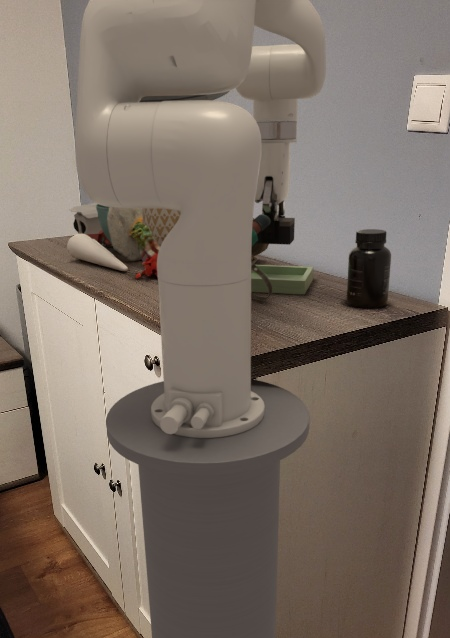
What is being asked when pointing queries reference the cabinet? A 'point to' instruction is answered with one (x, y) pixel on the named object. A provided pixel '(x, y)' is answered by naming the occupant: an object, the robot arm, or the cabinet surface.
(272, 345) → the cabinet surface
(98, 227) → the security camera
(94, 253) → the long cone
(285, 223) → the back pad
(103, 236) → the dental model
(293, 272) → the rectangular tray
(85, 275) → the cabinet surface
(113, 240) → the fossil
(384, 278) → the supplement bottle
